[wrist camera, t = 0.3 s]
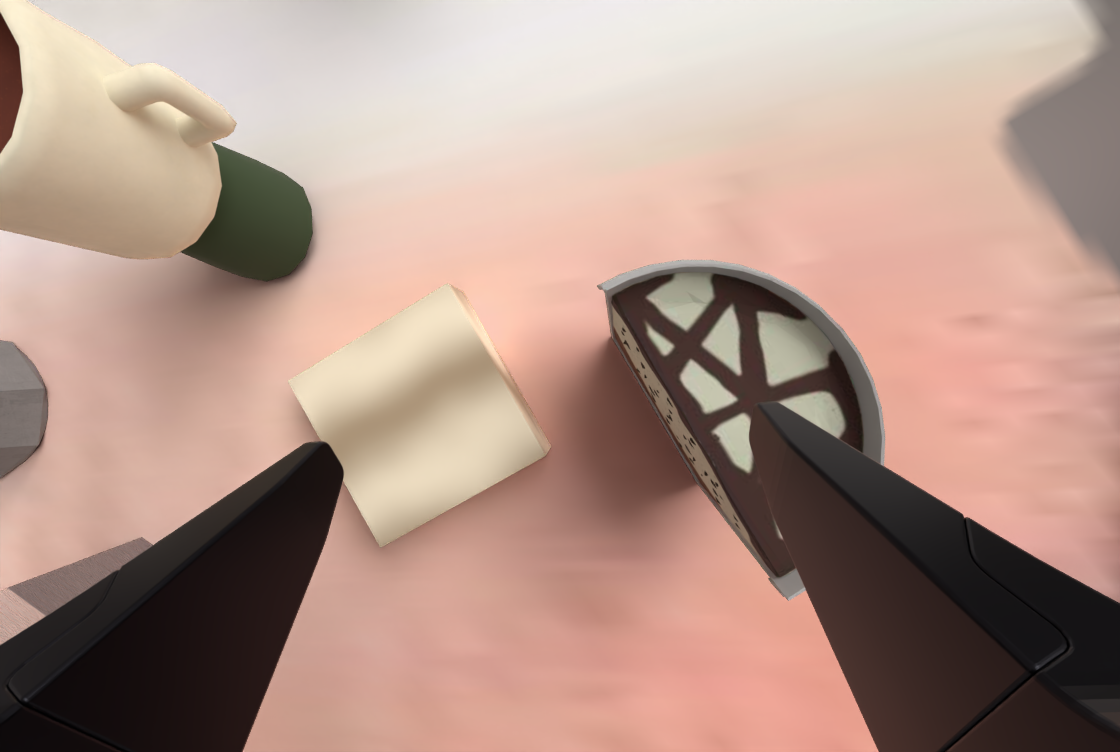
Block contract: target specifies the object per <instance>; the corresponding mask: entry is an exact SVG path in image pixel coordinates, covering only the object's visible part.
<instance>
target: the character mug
mask: <svg viewBox="0 0 1120 752" xmlns="http://www.w3.org/2000/svg"><path fill="white" fill-rule="evenodd" d="M236 124H237V123H236V122H235V120H234V119H233V118H232V117H231V116H230V114H229V113H228V112H227V111H226V110H225V108H224V107H223V106H222V105H221V104H219V103H218V102H216V101H215V100H213V99H212V98H210V97H209V96H208V95H206V94H205V93H203V92H202V91H200V90H199V89H197V88H196V87H194V86H193V85H192V84H190V83H189V82H187V81H186V80H184V79H183V78H181V77H180V76H179V75H177V74H176V73H174V72H173V71H171V70H169V69H167V68H165V67H163V66H160V65H158V64H156V63H144V64H137V65H134V66H131V65H129V64H128V63H126V62H124V61H123V60H122V59H120V58H119V57H117V56H116V55H115V54H113V53H112V52H110V51H109V50H108V49H106V48H105V47H104V46H102V45H101V44H99V43H98V42H97V41H95V40H93V39H91V38H89V37H88V36H86V35H84V34H82V33H81V32H79V31H77V30H75V29H74V28H72V27H70V26H68V25H66V24H65V23H63V22H61V21H59V20H58V19H56V18H54V17H52V16H51V15H49V14H47V13H46V12H44V11H42V10H41V9H39V8H38V7H36V6H35V5H33V4H31V3H30V2H28V1H27V0H0V230H4V231H9V232H13V233H17V234H22V235H26V236H31V237H35V238H39V239H44V240H48V241H53V242H57V243H62V244H66V245H70V246H75V247H79V248H84V249H88V250H92V251H97V252H101V253H106V254H110V255H115V256H119V257H123V258H130V259H156V258H170V257H172V256H174V255H176V254H177V253H179V252H182V253H184V254H186V255H189V256H191V257H193V258H196V259H198V260H200V261H203V262H205V263H207V264H210V265H212V266H215V267H217V268H220V269H223V270H225V271H228V272H231V273H234V274H236V275H239V276H242V277H247V278H252V279H257V280H263V281H269V280H273V279H276V278H279V277H282V276H286V275H289V274H290V273H291V272H292V271H293V270H294V268H295V267H296V266H297V265H298V264H299V263H300V262H301V261H302V260H303V259H304V258H305V256H306V252H307V249H308V246H309V243H310V240H311V237H312V234H313V231H312V211H311V206H310V204H309V201H308V199H307V196H306V194H305V191H304V189H303V187H301V186H300V185H299V184H297V183H296V182H295V181H293V180H292V179H291V178H289V177H288V176H287V175H285V174H284V173H282V172H280V171H277V170H275V169H273V168H271V167H269V166H267V165H265V164H263V163H261V162H259V161H257V160H254V159H252V158H250V157H247V156H245V155H242V154H240V153H237V152H235V151H233V150H230V149H228V148H225V147H223V146H220V145H218V144H215V143H213V141H216V140H218V139H221V138H224V137H227V136H228V135H230V134H231V133H232V132H233V131H234V129H235V126H236Z"/></svg>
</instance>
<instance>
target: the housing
mask: <svg viewBox="0 0 1120 752" xmlns="http://www.w3.org/2000/svg"><path fill="white" fill-rule="evenodd" d="M151 546H153V545H152V544H150V543H149V542H148V541H146V540H145V539H143V538H142V537H141V538H139V539H136V540H133V541H131V542H128V543H125V544H123V545H120V546H117V547H115V548H112V549H109V550H107V551H104V552H101V553H99V554H96V555H93V556H91V557H88V558H85V559H83V560H80V561H78V562H75V563H72V564H70V565H67V566H64V567H62V568H59V569H56V570H54V571H51V572H48V573H46V574H43V575H40V576H38V577H35V578H32V579H30V580H27V581H24V582H22V583H19V584H16V585H14V586H11V587H9V588H6V589H3V590H1V591H0V645H1V644H2V643H4V642H6V641H7V640H9V639H10V638H12V637H14V636H15V635H17V634H18V633H20V632H22V631H23V630H25V629H26V628H28V627H30V626H31V625H33V624H34V623H36V622H37V621H39V620H41V619H42V618H44V617H45V616H47V615H49V614H50V613H52V612H53V611H55V610H56V609H58V608H59V607H61V606H63V605H64V604H66V603H67V602H69V601H70V600H72V599H73V598H75V597H76V596H78V595H79V594H81V593H82V592H84V591H85V590H87V589H88V588H90V587H91V586H93V585H94V584H96V583H97V582H99V581H100V580H102V579H103V578H105V577H106V576H108V575H109V574H111V573H112V572H114V571H115V570H120V568H121V567H122V566H123V565H124V564H126V563H127V562H129V561H130V560H132V559H133V558H135V557H136V556H138V555H139V554H141V553H142V552H144V551H145V550H147V549H148V548H150V547H151Z"/></svg>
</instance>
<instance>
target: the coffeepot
mask: <svg viewBox="0 0 1120 752" xmlns="http://www.w3.org/2000/svg"><path fill="white" fill-rule="evenodd" d="M47 418H48V400H47V394H46V389H45V386H44V383H43V380H42V378H41V375H40V374H39V372H38V370H37V368H36V367H35V365H34V364H33V363H32V361H31V360H30V359H29V358H28V357H27V356H26V355H25V354H24V353H23V352H22V351H20V350H19V349H18V348H17V347H16V346H15V345H14V344H13V343H12V342H9V341H2V340H0V478H1V477H2V476H4V475H5V474H7V473H8V472H10V471H11V470H13V469H14V468H16V467H17V466H18V465H20V464H21V463H23V462H24V461H26V460H27V459H28V458H29V457H30V456H31V454H32V453H33V452H34V451H35V449H36V448H37V446H38V445H39V443H40V442H41V439H42V437H43V434H44V431H45V428H46V423H47Z"/></svg>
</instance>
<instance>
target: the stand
mask: <svg viewBox="0 0 1120 752" xmlns="http://www.w3.org/2000/svg"><path fill="white" fill-rule="evenodd" d="M288 383H289V384H290V386H291V388H292V390H293V392H294V393H295V395H296V397H297V399H298V401H299V402H300V404H301V406H302V408H303V410H304V411H305V413H306V415H307V417H308V419H309V420H310V422H311V424H312V426H313V428H314V429H315V431H316V433H317V435H318V437H319V438H320V440H321V441H324V442H327V443H328V444H329V445H330V446H331V448H332V449H333V451H334V453H335V454H336V456H337V458H338V459H339V461H340V463H341V464H342V466H343V469H344V478H343V481H344V483H345V485H346V487H347V489H348V490H349V492H350V494H351V496H352V498H353V499H354V501H355V503H356V505H357V507H358V508H359V510H360V512H361V514H362V516H363V517H364V519H365V521H366V523H367V525H368V526H369V528H370V530H371V532H372V534H373V535H374V537H375V539H376V541H377V543H378V544H379V546H380V548H381V547H383V546H385V545H387V544H388V543H390V542H392V541H394V540H396V539H397V538H399V537H401V536H403V535H405V534H406V533H408V532H410V531H412V530H414V529H415V528H417V527H419V526H421V525H423V524H424V523H426V522H428V521H430V520H432V519H433V518H435V517H437V516H439V515H440V514H442V513H444V512H446V511H448V510H449V509H451V508H453V507H455V506H457V505H458V504H460V503H462V502H464V501H466V500H467V499H469V498H471V497H473V496H475V495H476V494H478V493H480V492H482V491H484V490H485V489H487V488H489V487H491V486H492V485H494V484H496V483H498V482H500V481H501V480H503V479H505V478H507V477H509V476H510V475H512V474H514V473H516V472H518V471H519V470H521V469H523V468H525V467H527V466H528V465H530V464H532V463H534V462H536V461H537V460H539V459H541V458H543V457H544V456H546V455H547V453H548V451H549V449H550V448H551V445H550V443H549V441H548V440H547V438H546V436H545V434H544V433H543V431H542V429H541V427H540V426H539V424H538V422H537V420H536V419H535V417H534V415H533V413H532V412H531V410H530V408H529V406H528V405H527V403H526V401H525V399H524V397H523V396H522V394H521V392H520V390H519V389H518V387H517V385H516V383H515V382H514V380H513V378H512V376H511V375H510V373H509V371H508V369H507V368H506V366H505V364H504V362H503V361H502V359H501V357H500V355H499V354H498V352H497V350H496V348H495V347H494V345H493V343H492V341H491V340H490V338H489V336H488V334H487V333H486V331H485V329H484V327H483V325H482V324H481V322H480V320H479V318H478V317H477V315H476V313H475V311H474V310H473V308H472V306H471V304H470V303H469V301H468V299H467V297H466V296H465V294H464V292H463V291H461V290H460V289H458V288H456V287H454V286H452V285H450V284H449V283H447V284H445V285H443V286H442V287H440V288H439V289H437V290H435V291H434V292H432V293H430V294H429V295H427V296H425V297H424V298H422V299H421V300H419V301H417V302H416V303H414V304H412V305H411V306H409V307H408V308H406V309H404V310H403V311H401V312H399V313H398V314H396V315H395V316H393V317H391V318H390V319H388V320H386V321H385V322H383V323H382V324H380V325H378V326H377V327H375V328H373V329H372V330H370V331H369V332H367V333H365V334H364V335H362V336H360V337H359V338H357V339H356V340H354V341H352V342H351V343H349V344H347V345H346V346H344V347H343V348H341V349H339V350H338V351H336V352H334V353H333V354H331V355H329V356H328V357H326V358H325V359H323V360H321V361H320V362H318V363H316V364H315V365H313V366H312V367H310V368H308V369H307V370H305V371H303V372H302V373H300V374H299V375H297V376H295V377H294V378H292V379H290V380H289V381H288Z"/></svg>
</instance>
